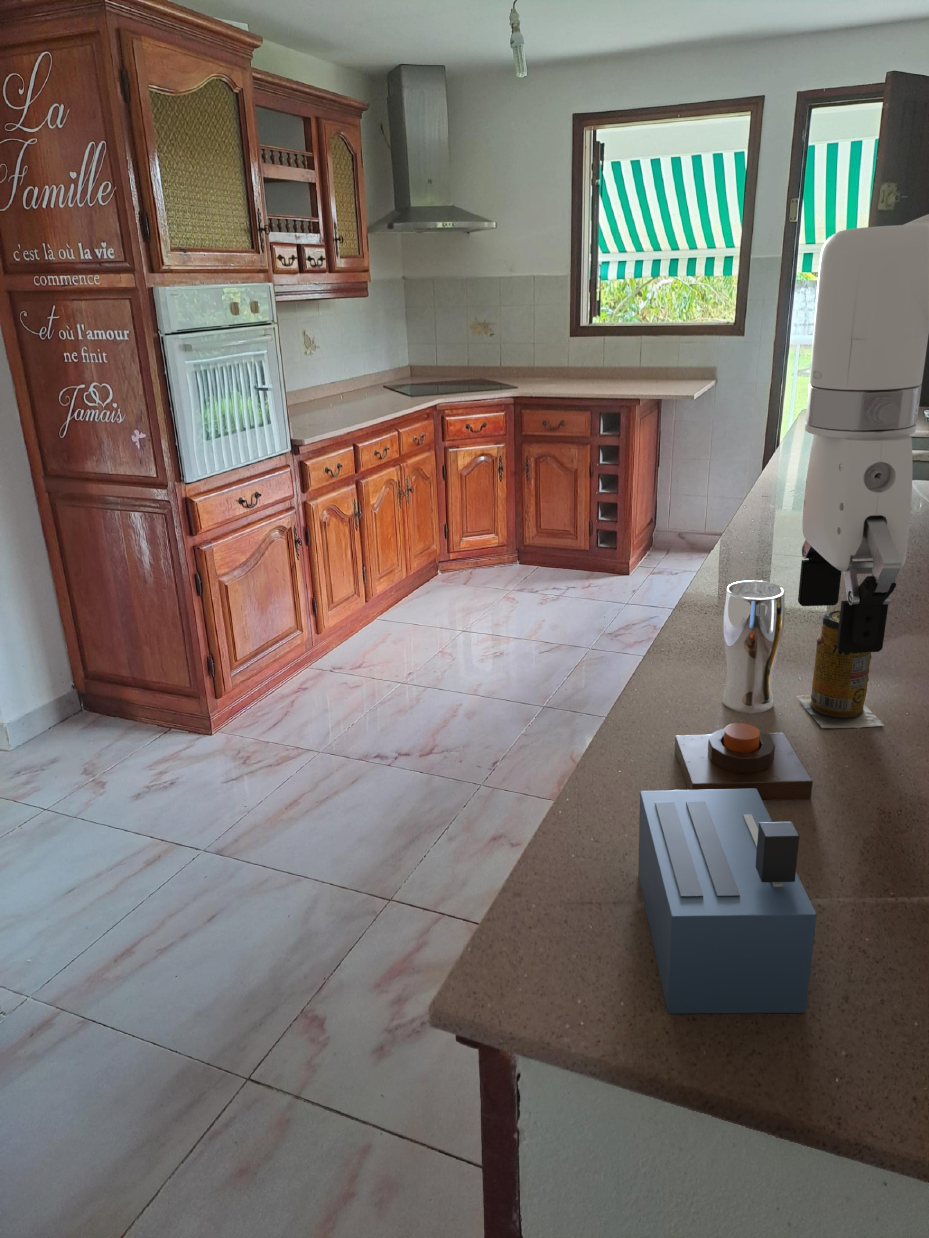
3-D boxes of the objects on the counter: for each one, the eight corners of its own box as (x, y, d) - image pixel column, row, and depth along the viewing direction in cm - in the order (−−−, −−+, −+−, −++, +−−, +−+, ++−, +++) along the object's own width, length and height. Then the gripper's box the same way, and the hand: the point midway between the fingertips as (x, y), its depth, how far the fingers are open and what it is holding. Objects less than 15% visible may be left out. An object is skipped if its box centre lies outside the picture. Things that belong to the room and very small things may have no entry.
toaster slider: (787, 866, 66) (792, 821, 64) (795, 882, 64) (799, 836, 62) (755, 867, 66) (758, 822, 64) (761, 882, 64) (765, 836, 63)
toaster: (750, 873, 79) (756, 787, 76) (805, 1012, 64) (817, 913, 61) (638, 875, 80) (639, 789, 77) (667, 1013, 65) (671, 915, 62)
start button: (753, 736, 95) (755, 722, 94) (763, 753, 91) (764, 739, 91) (720, 737, 95) (720, 723, 94) (727, 754, 92) (728, 740, 91)
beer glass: (770, 720, 105) (780, 603, 99) (712, 709, 108) (718, 595, 103) (782, 696, 110) (792, 583, 105) (726, 686, 114) (733, 577, 108)
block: (782, 749, 99) (785, 718, 97) (811, 799, 89) (814, 765, 88) (674, 752, 99) (675, 721, 98) (691, 802, 90) (693, 768, 89)
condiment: (853, 694, 110) (864, 604, 105) (884, 727, 102) (897, 631, 98) (795, 697, 110) (803, 608, 106) (821, 730, 102) (831, 635, 98)
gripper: (970, 428, 56) (932, 671, 62) (869, 392, 72) (847, 588, 78) (849, 433, 57) (823, 673, 63) (776, 396, 73) (761, 591, 79)
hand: (836, 626), depth 71 cm, fingers open, 9 cm apart
